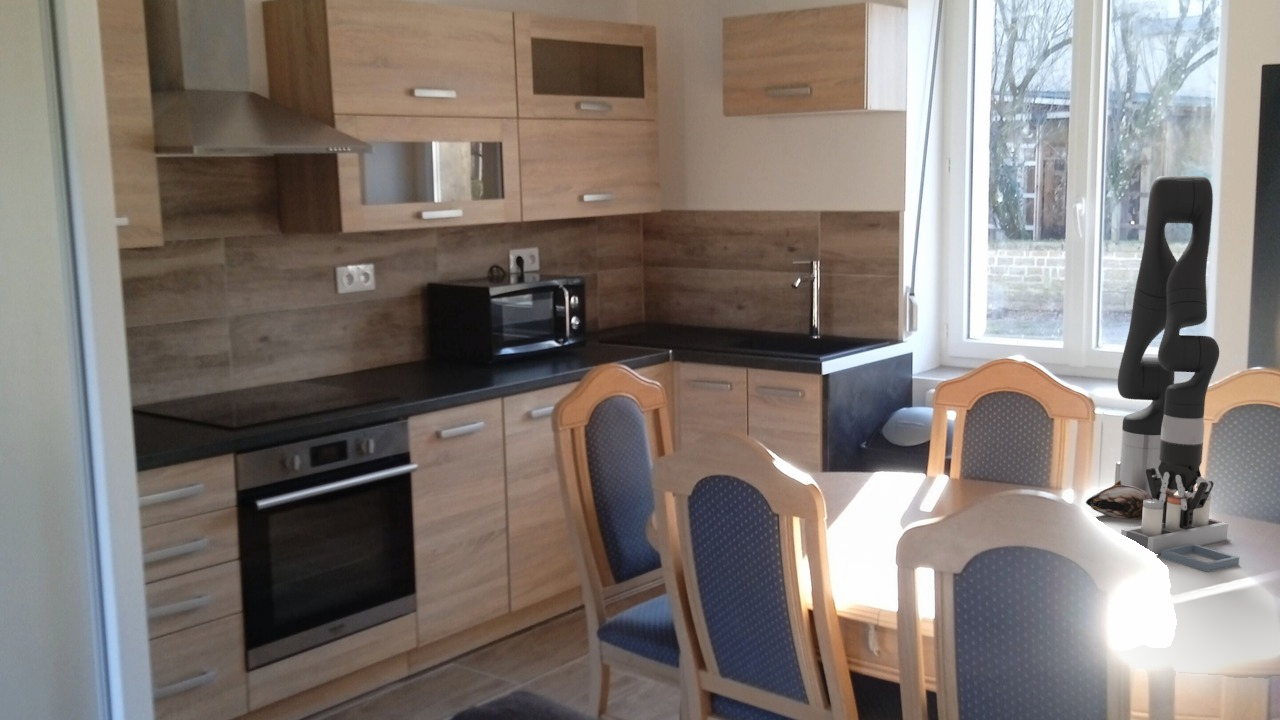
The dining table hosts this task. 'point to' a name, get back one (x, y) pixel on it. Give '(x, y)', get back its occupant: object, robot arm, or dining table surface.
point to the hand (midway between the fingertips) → (1175, 525)
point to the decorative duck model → (1119, 501)
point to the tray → (1220, 563)
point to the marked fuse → (1173, 513)
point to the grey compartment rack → (1180, 536)
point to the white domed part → (1202, 514)
